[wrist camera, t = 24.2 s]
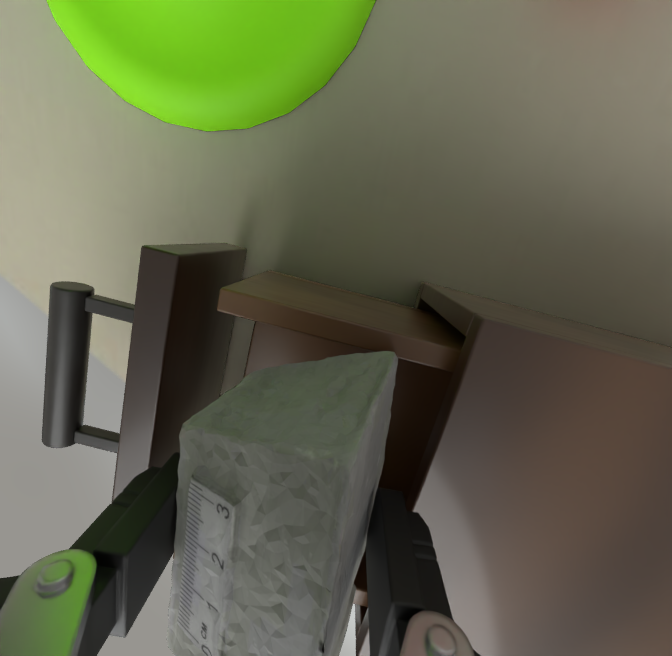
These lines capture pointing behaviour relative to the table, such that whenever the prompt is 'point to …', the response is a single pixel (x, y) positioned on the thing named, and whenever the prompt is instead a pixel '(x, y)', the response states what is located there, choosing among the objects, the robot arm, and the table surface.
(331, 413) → the grey block
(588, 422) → the cabinet
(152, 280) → the drawer
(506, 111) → the table surface
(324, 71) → the wineglass
